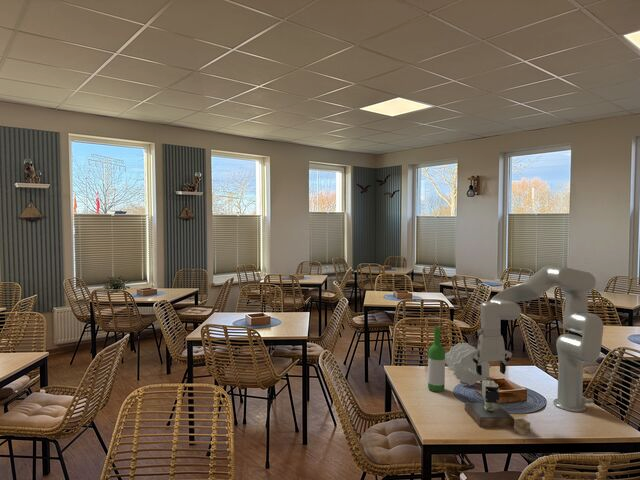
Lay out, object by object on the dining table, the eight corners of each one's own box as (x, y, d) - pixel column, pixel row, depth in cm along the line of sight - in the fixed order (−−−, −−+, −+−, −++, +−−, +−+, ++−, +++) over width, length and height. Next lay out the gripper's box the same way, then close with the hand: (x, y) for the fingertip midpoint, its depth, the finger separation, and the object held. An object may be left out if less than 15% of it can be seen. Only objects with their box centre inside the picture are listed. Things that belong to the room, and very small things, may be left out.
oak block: (522, 428, 176) (522, 418, 176) (530, 433, 172) (530, 422, 172) (513, 429, 175) (514, 419, 175) (521, 434, 171) (521, 424, 171)
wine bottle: (444, 387, 219) (445, 326, 218) (444, 393, 212) (445, 330, 211) (427, 386, 221) (428, 325, 220) (427, 391, 214) (428, 329, 213)
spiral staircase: (466, 379, 243) (483, 394, 218) (437, 364, 243) (450, 378, 218) (481, 348, 244) (499, 360, 219) (452, 334, 244) (467, 344, 219)
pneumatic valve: (485, 415, 180) (486, 385, 179) (480, 403, 191) (481, 375, 191) (500, 416, 179) (501, 386, 178) (494, 404, 190) (495, 376, 190)
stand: (496, 409, 193) (496, 401, 193) (514, 426, 177) (514, 417, 177) (464, 410, 193) (464, 402, 193) (479, 426, 177) (479, 418, 177)
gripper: (473, 335, 180) (473, 377, 181) (515, 333, 181) (515, 376, 181) (466, 330, 187) (466, 371, 188) (507, 329, 188) (507, 369, 189)
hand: (490, 373), depth 185 cm, fingers open, 9 cm apart
